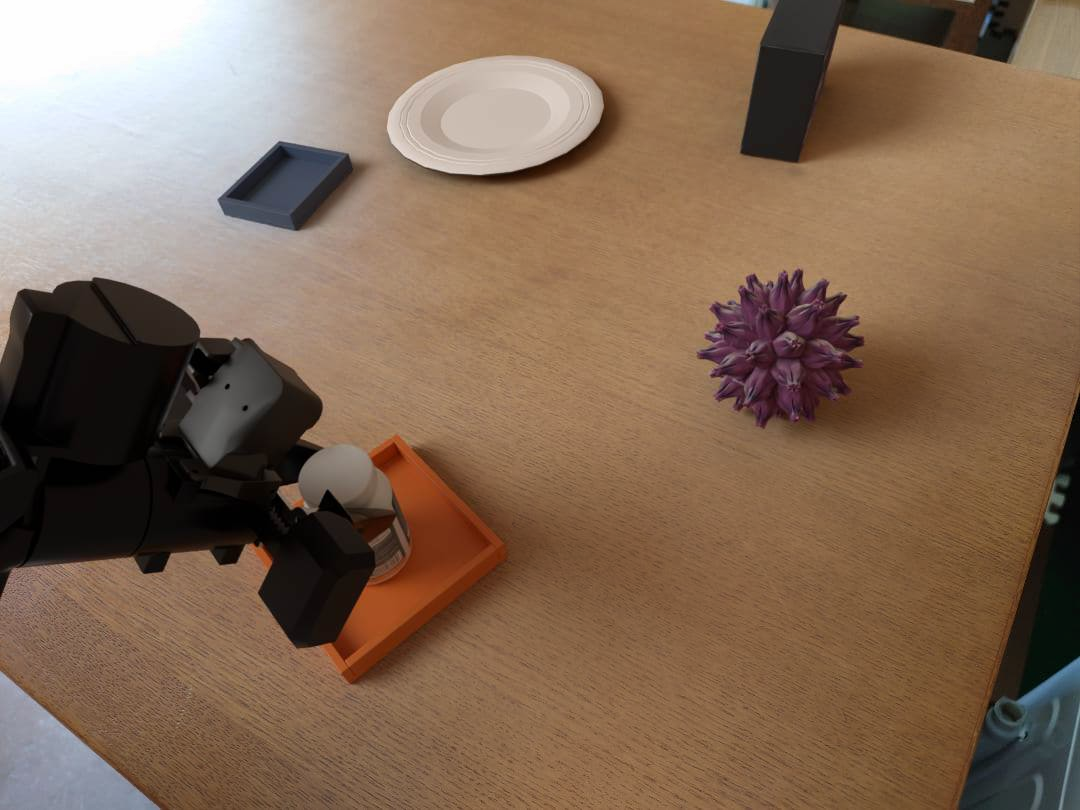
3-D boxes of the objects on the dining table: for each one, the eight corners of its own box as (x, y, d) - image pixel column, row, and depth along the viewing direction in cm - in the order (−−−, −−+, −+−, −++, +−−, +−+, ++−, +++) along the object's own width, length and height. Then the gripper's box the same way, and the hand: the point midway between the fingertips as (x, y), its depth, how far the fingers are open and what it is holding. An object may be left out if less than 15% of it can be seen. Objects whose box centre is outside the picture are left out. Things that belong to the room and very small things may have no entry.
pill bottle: (345, 516, 57) (302, 435, 50) (420, 518, 57) (389, 436, 49) (325, 587, 54) (276, 511, 46) (406, 590, 53) (369, 514, 45)
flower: (699, 457, 60) (686, 328, 66) (860, 450, 59) (833, 318, 64) (708, 388, 50) (692, 241, 55) (903, 376, 49) (867, 227, 54)
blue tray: (296, 231, 80) (289, 215, 79) (224, 215, 83) (216, 199, 82) (353, 169, 87) (348, 153, 85) (285, 155, 90) (279, 140, 88)
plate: (351, 171, 86) (346, 156, 85) (444, 60, 101) (441, 46, 99) (563, 203, 80) (562, 187, 78) (630, 79, 94) (630, 64, 92)
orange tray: (349, 685, 50) (340, 673, 48) (254, 551, 57) (244, 538, 55) (507, 557, 55) (504, 543, 53) (402, 448, 61) (396, 433, 60)
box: (802, 165, 80) (826, 52, 71) (738, 156, 82) (752, 44, 73) (829, 82, 90) (852, -28, 80) (770, 75, 92) (787, -33, 82)
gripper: (276, 481, 31) (516, 476, 43) (106, 266, 41) (343, 313, 53) (179, 686, 34) (430, 626, 47) (43, 441, 44) (281, 446, 56)
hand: (367, 490), depth 51 cm, fingers closed on pill bottle, 5 cm apart
